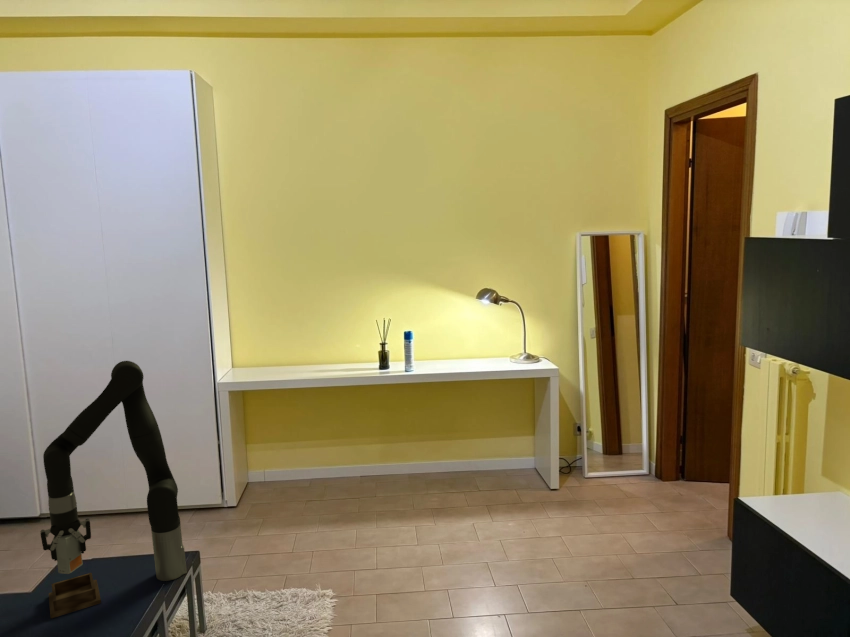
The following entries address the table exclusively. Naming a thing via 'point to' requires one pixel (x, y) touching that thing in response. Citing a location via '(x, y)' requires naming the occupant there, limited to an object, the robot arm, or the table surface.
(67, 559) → the skincare box
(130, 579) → the table surface
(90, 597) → the walnut stand
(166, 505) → the robot arm
